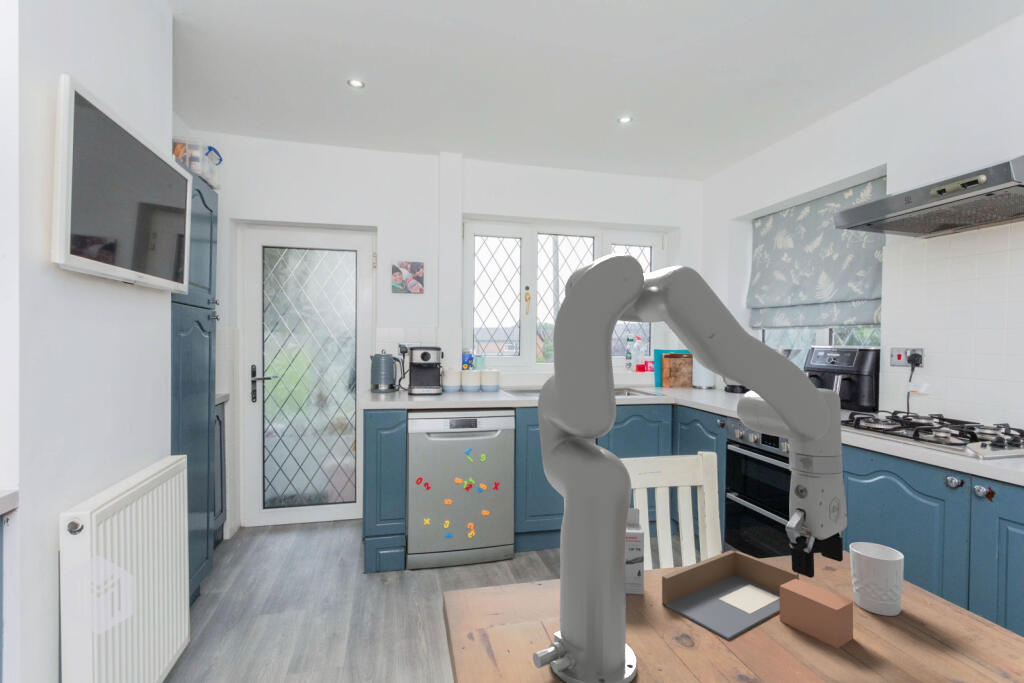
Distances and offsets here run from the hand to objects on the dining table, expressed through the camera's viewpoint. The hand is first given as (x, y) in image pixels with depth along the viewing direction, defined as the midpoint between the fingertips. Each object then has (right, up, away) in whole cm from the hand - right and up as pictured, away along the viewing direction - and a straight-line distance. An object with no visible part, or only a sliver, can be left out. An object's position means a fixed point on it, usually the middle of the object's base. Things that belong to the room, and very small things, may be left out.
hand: (817, 566), depth 80 cm
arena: (-11, -10, +9) cm, 18 cm away
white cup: (+15, -11, +7) cm, 20 cm away
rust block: (-1, -10, 0) cm, 10 cm away
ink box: (-30, -11, +13) cm, 34 cm away
